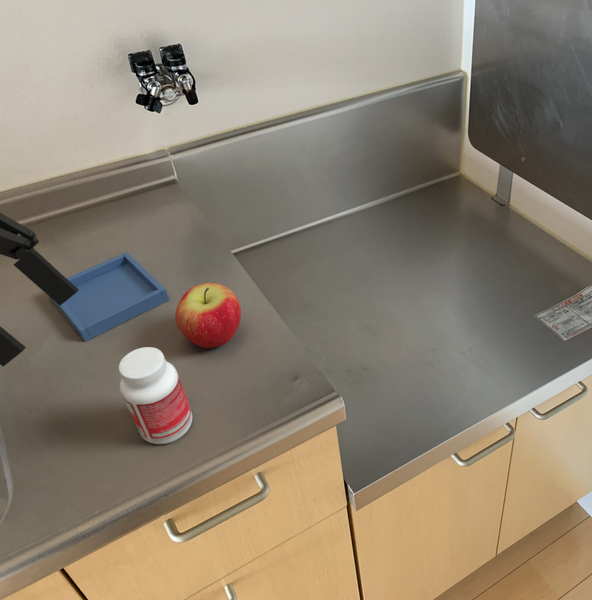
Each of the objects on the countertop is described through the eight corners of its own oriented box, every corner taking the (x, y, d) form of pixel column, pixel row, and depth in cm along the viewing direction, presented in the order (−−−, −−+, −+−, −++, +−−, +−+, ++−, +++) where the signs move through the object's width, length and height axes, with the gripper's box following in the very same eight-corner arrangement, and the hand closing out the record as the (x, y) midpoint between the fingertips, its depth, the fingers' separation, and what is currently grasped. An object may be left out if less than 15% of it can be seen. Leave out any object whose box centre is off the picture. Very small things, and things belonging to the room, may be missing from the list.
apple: (209, 369, 80) (192, 313, 73) (171, 339, 84) (152, 284, 78) (258, 335, 85) (246, 280, 78) (220, 309, 89) (206, 254, 82)
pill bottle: (203, 412, 75) (182, 349, 67) (174, 452, 70) (148, 389, 63) (160, 399, 76) (135, 336, 69) (129, 438, 72) (98, 375, 65)
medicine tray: (85, 341, 84) (79, 330, 82) (50, 298, 91) (44, 287, 89) (169, 299, 90) (165, 289, 89) (130, 262, 97) (126, 251, 96)
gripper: (-87, 160, 68) (66, 295, 77) (-293, 233, 46) (-45, 412, 54) (-42, 119, 67) (109, 261, 75) (-231, 172, 44) (13, 366, 53)
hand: (45, 324), depth 65 cm, fingers open, 13 cm apart
